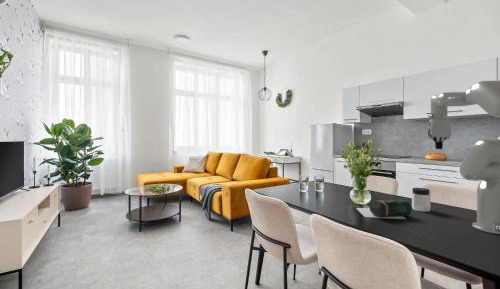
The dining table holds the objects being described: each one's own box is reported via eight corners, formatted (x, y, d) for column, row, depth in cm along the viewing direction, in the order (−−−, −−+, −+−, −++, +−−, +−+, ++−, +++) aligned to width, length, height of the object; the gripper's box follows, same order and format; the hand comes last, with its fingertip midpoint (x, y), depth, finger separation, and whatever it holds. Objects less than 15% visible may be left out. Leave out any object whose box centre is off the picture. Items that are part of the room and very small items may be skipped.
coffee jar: (412, 201, 123) (380, 203, 120) (412, 216, 123) (380, 219, 120) (397, 197, 133) (367, 199, 130) (397, 211, 133) (368, 213, 130)
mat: (405, 218, 122) (405, 217, 122) (365, 217, 125) (365, 216, 125) (391, 209, 138) (391, 208, 138) (356, 208, 141) (356, 207, 141)
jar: (432, 209, 136) (432, 189, 136) (428, 212, 131) (428, 191, 131) (414, 206, 143) (414, 187, 143) (409, 209, 138) (409, 188, 138)
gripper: (428, 116, 133) (428, 149, 133) (458, 116, 131) (458, 149, 131) (420, 118, 140) (421, 148, 141) (449, 117, 138) (448, 148, 139)
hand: (438, 148), depth 136 cm, fingers closed
